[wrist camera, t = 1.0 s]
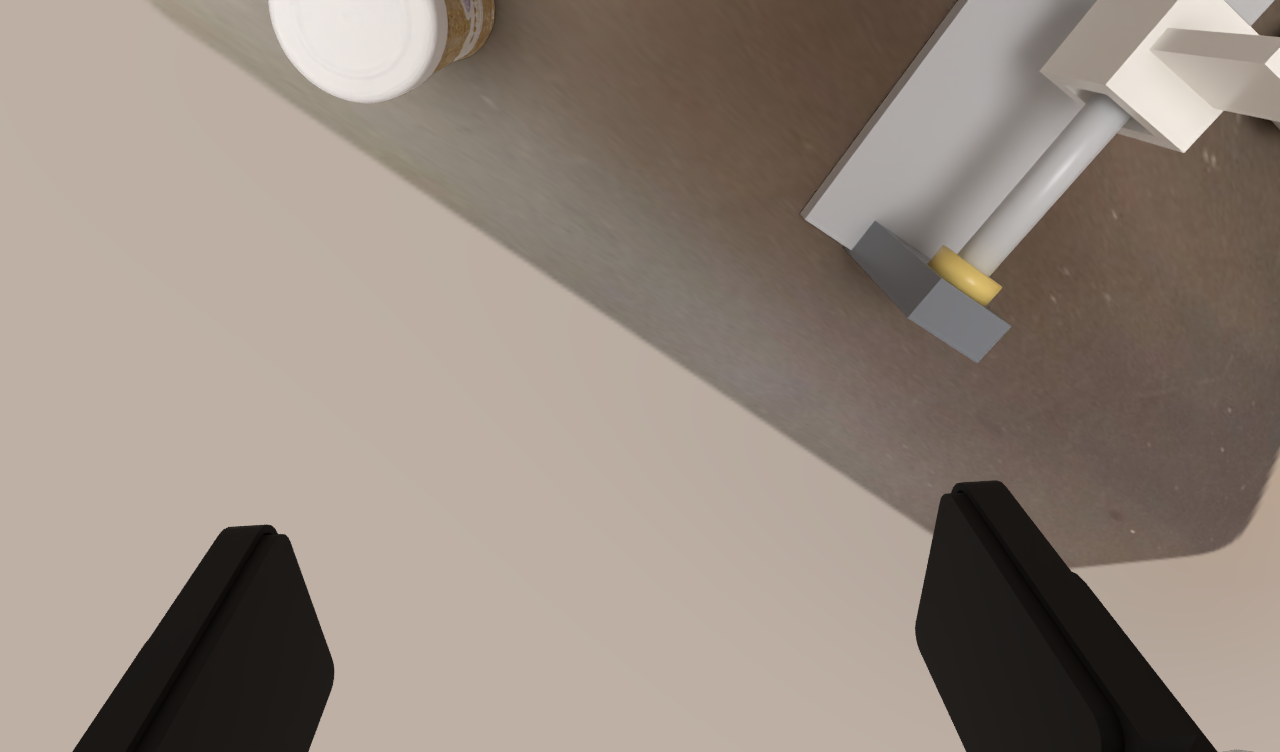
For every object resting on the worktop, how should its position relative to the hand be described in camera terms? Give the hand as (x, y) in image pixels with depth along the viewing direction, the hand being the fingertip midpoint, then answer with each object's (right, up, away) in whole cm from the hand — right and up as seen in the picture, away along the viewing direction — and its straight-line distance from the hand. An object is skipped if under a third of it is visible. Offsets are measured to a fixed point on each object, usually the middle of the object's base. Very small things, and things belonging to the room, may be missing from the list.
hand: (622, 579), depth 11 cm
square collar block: (+19, +16, +19) cm, 31 cm away
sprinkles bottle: (-8, +19, +21) cm, 30 cm away
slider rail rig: (+17, +15, +25) cm, 33 cm away
